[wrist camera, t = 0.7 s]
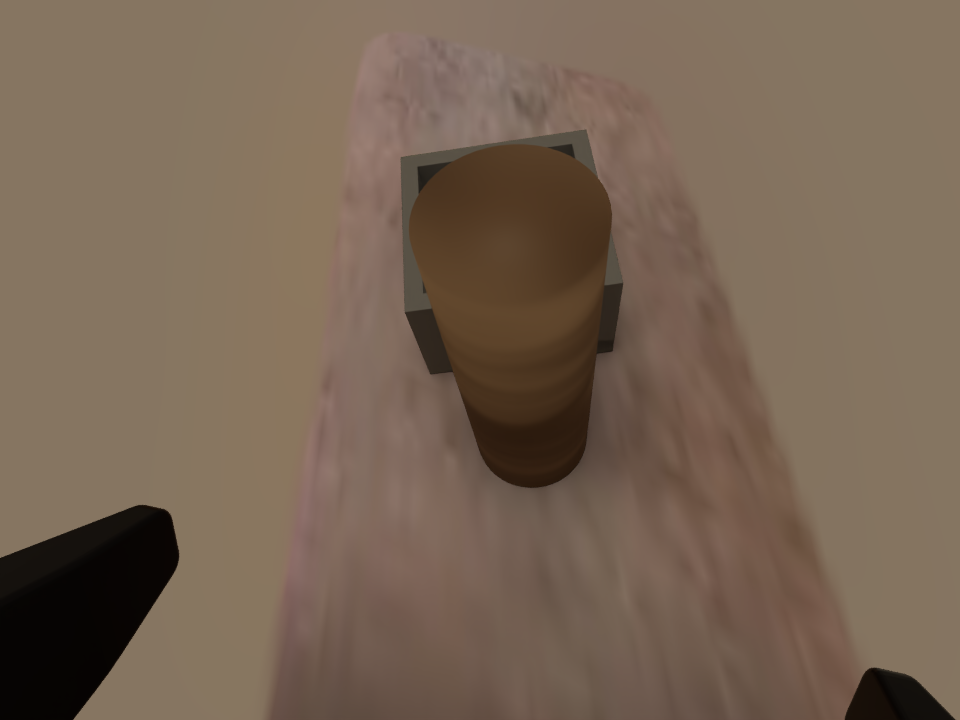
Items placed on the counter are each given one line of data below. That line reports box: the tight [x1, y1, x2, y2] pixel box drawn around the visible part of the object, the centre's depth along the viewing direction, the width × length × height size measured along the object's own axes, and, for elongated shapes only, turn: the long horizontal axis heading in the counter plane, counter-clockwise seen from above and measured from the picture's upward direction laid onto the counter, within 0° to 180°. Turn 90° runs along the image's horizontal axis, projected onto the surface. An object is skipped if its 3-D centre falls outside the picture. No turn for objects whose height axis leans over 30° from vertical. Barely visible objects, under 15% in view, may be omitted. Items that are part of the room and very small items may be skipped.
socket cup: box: [401, 130, 623, 374], centre depth 26 cm, size 8×8×5 cm
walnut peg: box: [409, 144, 612, 488], centre depth 19 cm, size 4×4×13 cm
